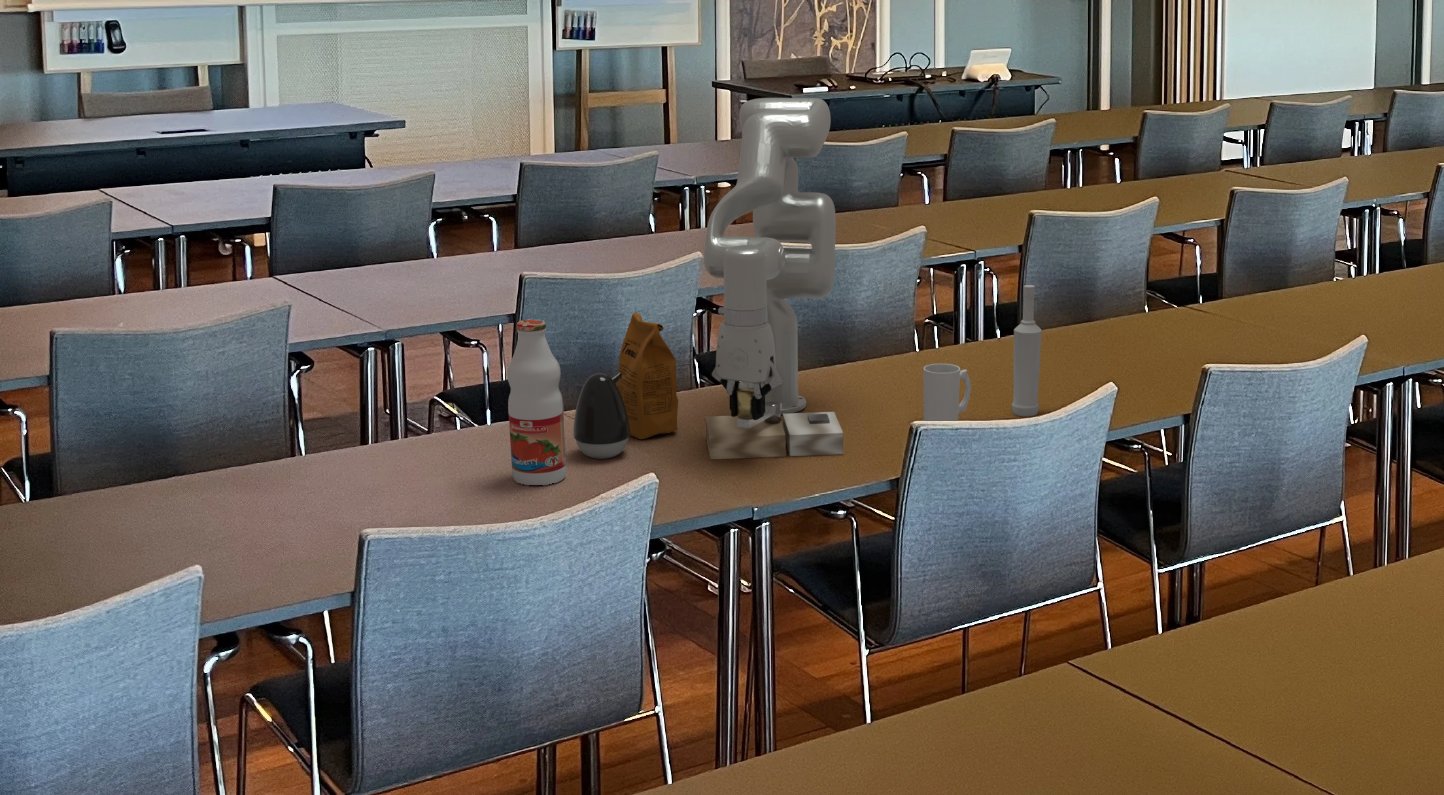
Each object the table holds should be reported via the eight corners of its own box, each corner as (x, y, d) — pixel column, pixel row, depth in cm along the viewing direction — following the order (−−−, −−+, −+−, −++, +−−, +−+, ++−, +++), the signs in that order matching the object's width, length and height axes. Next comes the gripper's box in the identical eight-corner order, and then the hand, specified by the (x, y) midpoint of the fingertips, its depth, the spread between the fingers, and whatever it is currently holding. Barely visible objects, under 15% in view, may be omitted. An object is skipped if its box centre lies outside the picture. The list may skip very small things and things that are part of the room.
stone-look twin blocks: (709, 459, 297) (709, 434, 296) (706, 437, 310) (705, 413, 308) (843, 454, 298) (843, 429, 297) (834, 432, 311) (834, 408, 310)
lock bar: (767, 417, 306) (767, 374, 304) (784, 419, 305) (784, 376, 302) (733, 435, 296) (732, 391, 294) (751, 438, 295) (750, 393, 292)
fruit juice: (576, 472, 292) (568, 317, 284) (551, 489, 284) (542, 330, 276) (528, 466, 295) (519, 313, 287) (502, 483, 287) (492, 326, 279)
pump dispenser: (643, 452, 302) (640, 372, 297) (601, 467, 294) (597, 384, 290) (605, 441, 308) (601, 362, 304) (562, 455, 301) (558, 374, 297)
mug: (936, 437, 306) (937, 375, 303) (915, 428, 312) (916, 366, 309) (980, 428, 311) (981, 367, 308) (959, 419, 317) (960, 359, 313)
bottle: (1042, 411, 321) (1047, 284, 314) (1032, 418, 317) (1036, 290, 309) (1017, 407, 323) (1021, 282, 316) (1007, 414, 319) (1010, 287, 312)
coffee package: (659, 417, 322) (655, 307, 316) (684, 435, 311) (681, 321, 305) (611, 425, 318) (606, 313, 312) (634, 443, 307) (630, 327, 301)
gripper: (694, 316, 292) (696, 416, 297) (778, 326, 284) (779, 428, 289) (715, 307, 298) (717, 405, 303) (797, 316, 290) (798, 416, 295)
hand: (747, 415), depth 296 cm, fingers closed on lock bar, 3 cm apart
